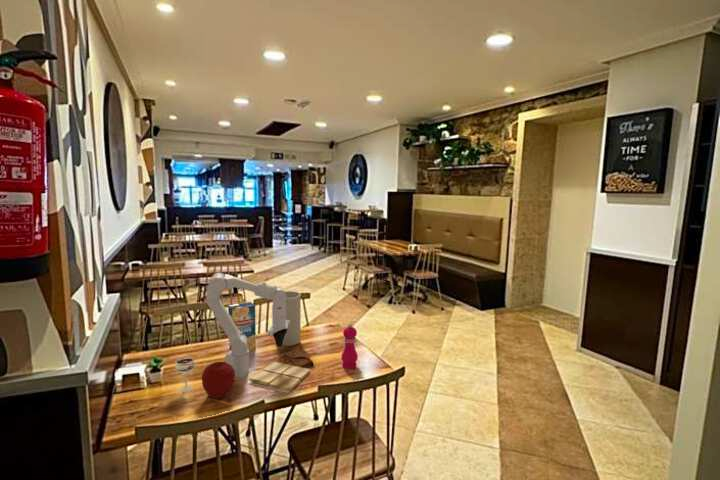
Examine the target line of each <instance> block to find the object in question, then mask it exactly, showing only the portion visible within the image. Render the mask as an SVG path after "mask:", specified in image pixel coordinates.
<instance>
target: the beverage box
mask: <svg viewBox="0 0 720 480" xmlns="http://www.w3.org/2000/svg"><path fill="white" fill-rule="evenodd" d="M227 309H228V310H227V312H228V314H229V315H230V317H231V318H232V320H233V322H234V323H235V325H236V327H237V328H238V329H239V330H240V331H241V333H242V334H244V335H245V336H246V337H247V339H248V341H247V347H248V350H249V351H251V350H256V348H257V347H256V345H257V342H256V340H257V339H256V305H255V304H254V303H253V302H251V301H247V302H241V303H234V304H228V308H227ZM228 343H229V344H228V345H229V347H228V349H229V351H231V350H232V347H231V345H230V342H229V341H228Z"/></svg>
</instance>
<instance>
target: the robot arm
mask: <svg viewBox="0 0 720 480" xmlns="http://www.w3.org/2000/svg"><path fill="white" fill-rule="evenodd" d="M208 282H209V283H208V285H207V288H206V298H205V301H206V304H207V306H208V307H209V309H210V310H211V312H212V314H213V315H214V317H215V318H216V320H217V322H218V323H219V325H220V326H221V329H222V330H223V331H224V333H225V334H226V336H227V339H228V343H229V342H230V345H231V347H232V350H229V351H228V352H227V353H226V355H225V359H224V362H225V363H228V364H230V365H231V366H233V369H234V371H235V377H237V378H244V377H246V376H247V375H248V374H250V373H252V372H253V371H254V368H252V367H250V350H248V347H247V341H248V339H247V337H246V336H245V335H244V334H242V333H241V331H240V330H239V329H238V328H237V327H236V325H235V323H234V322H233V320H232V318H231V317H230V315H229V313H228V310H227V308H226V307H225V305H224V304H223V302H222V300H221V299H220V298H221V295H222V293H223V292H224V291H225V289H226V290H227V291H228V290H230V289H233V288H237V289H240V290H245V291H249V292H253V293H254V295H255V296H257V297H259V298H263V299H267V300H272V306H271V308H272V309H271V314H272V317H271V318H272V320H271V322H272V323H271V324H272V325H271V326H270V328H269V329H268V330H267V336H270V337H273V338H274V342H275V345H276V346H277V347H283V346H282V344H283V340H284V336H285V334H286V332H287V328H288V326H287V325H290V320H286V305H285V303H286V299H287V297H286V293H285V291H286V290H285V289H284V288H282V287H281V286H276V285H274V286H273V285H270V284H267V282H265V281H262V282H258V283H254V282H250V281H249V280H246V279H243V278H242V279H241V278H240V277H236V276H233V275H230V274H227V273H225V274H224V273H222V272H216V273H214V274H213V275H211V277H210V280H209V281H208Z"/></svg>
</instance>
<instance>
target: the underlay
mask: <svg viewBox="0 0 720 480" xmlns="http://www.w3.org/2000/svg"><path fill="white" fill-rule="evenodd" d="M261 371H263V369H262V370H261ZM311 372H312V371H311V370H310V372H309V373H308V374H310V373H311ZM308 374H307V375H308ZM246 384H248V385H251V386H252V385H253V386H256V387H257V386H258V387H261V388H264V389H269V390H273V391H278V392H282V393H287V394H288V393H290V392H292V390H293V389H294V388H292V389H291V390H290V391H286V390H282V389H278V388H273V387H270V385H265V384H260V383H256V382H252V381H250V379H249V380H248V381H247V382H246Z"/></svg>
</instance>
